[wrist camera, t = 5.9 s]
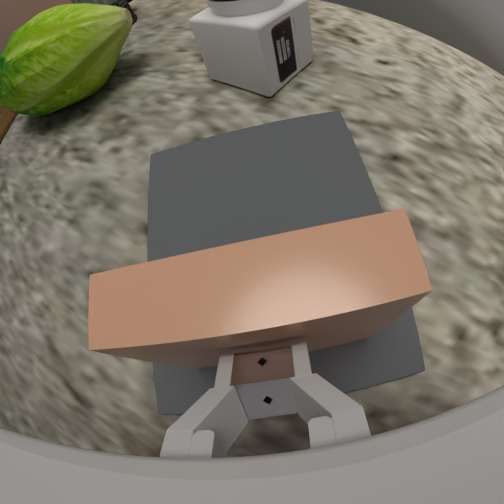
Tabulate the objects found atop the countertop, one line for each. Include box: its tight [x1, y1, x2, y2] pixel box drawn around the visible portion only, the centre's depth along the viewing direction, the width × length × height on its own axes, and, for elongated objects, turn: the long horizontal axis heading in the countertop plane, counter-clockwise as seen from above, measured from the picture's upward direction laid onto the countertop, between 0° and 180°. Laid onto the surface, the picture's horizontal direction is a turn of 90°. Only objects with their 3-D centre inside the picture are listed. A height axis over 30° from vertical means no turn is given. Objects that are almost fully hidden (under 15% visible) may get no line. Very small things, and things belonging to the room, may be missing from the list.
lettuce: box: [0, 3, 133, 116], centre depth 27 cm, size 15×23×16 cm
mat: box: [148, 111, 425, 414], centre depth 20 cm, size 16×20×1 cm
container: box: [189, 0, 313, 97], centre depth 21 cm, size 8×8×13 cm
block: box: [89, 209, 432, 368], centre depth 13 cm, size 10×3×10 cm, turn 98°
